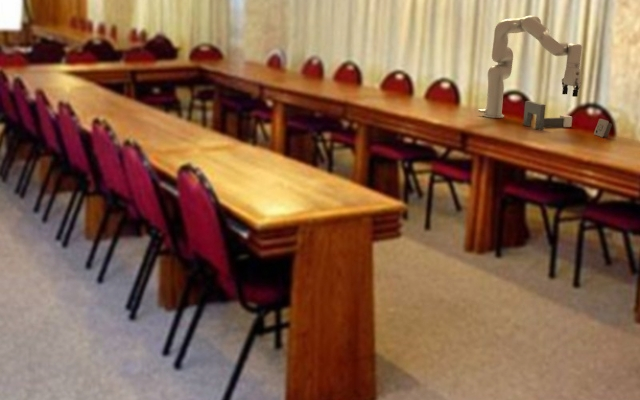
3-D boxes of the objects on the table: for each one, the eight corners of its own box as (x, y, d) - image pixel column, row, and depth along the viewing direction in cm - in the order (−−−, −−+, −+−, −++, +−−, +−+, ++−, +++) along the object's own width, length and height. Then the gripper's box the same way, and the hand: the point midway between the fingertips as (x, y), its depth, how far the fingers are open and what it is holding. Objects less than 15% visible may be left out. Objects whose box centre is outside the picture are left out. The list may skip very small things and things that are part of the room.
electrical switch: (593, 134, 480) (596, 118, 478) (601, 135, 481) (605, 119, 479) (601, 137, 472) (604, 120, 469) (610, 138, 473) (613, 121, 470)
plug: (544, 127, 498) (545, 117, 497) (539, 126, 503) (540, 116, 501) (571, 126, 505) (572, 116, 503) (566, 125, 509) (567, 115, 508)
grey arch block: (538, 129, 491) (541, 105, 488) (523, 124, 506) (525, 101, 502) (543, 129, 492) (545, 104, 489) (527, 124, 507) (529, 100, 503)
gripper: (587, 67, 491) (584, 97, 496) (569, 64, 507) (566, 93, 511) (576, 67, 489) (573, 97, 493) (558, 64, 504) (555, 93, 509)
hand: (569, 95), depth 502 cm, fingers open, 9 cm apart
